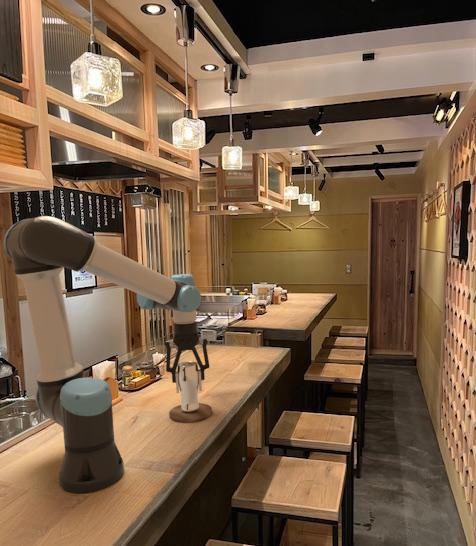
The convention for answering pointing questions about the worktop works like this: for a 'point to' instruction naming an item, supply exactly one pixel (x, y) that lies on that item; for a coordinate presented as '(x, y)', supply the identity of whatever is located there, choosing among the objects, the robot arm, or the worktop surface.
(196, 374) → the beer glass
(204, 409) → the walnut coaster board
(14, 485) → the worktop surface
